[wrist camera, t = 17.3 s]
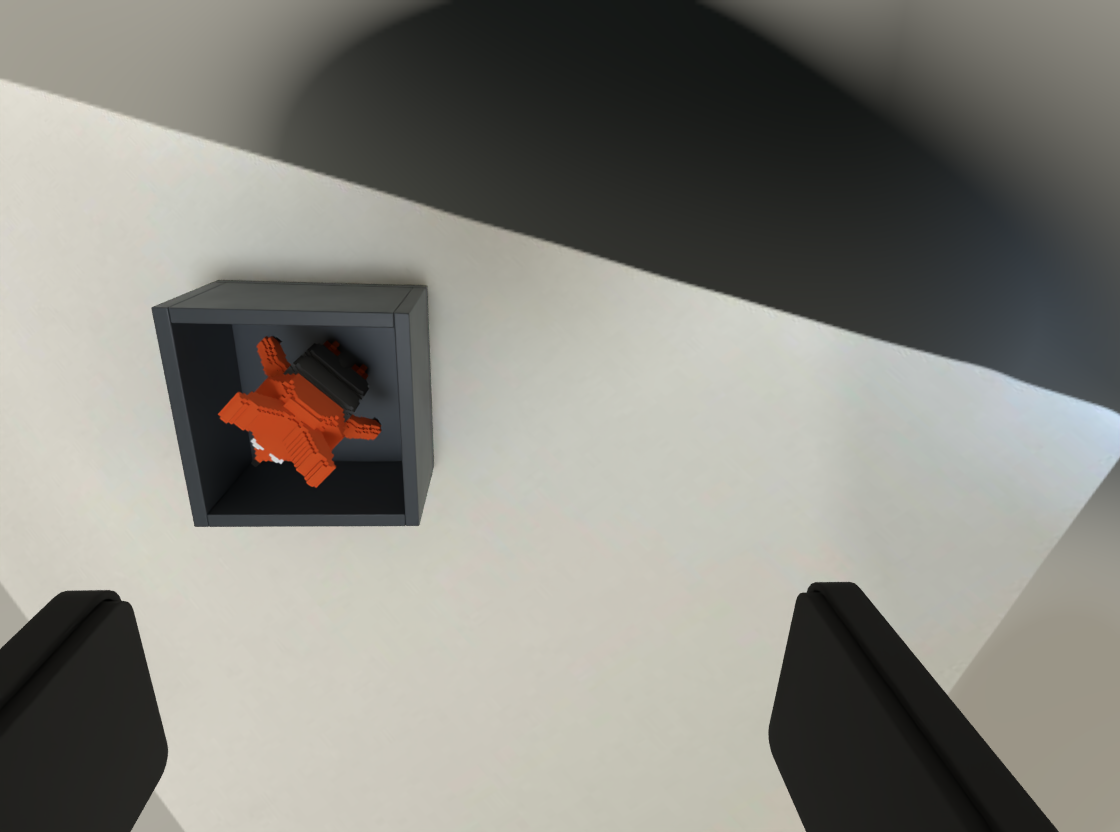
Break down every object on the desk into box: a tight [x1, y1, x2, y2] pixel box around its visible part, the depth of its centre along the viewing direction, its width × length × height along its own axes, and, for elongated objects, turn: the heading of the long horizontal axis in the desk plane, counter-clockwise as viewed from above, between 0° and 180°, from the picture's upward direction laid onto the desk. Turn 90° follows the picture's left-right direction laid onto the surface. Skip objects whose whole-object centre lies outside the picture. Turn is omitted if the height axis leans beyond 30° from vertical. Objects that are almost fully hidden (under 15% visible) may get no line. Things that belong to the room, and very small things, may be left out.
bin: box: [152, 280, 434, 527], centre depth 38 cm, size 13×13×8 cm
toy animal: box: [218, 336, 382, 488], centre depth 35 cm, size 8×6×12 cm
